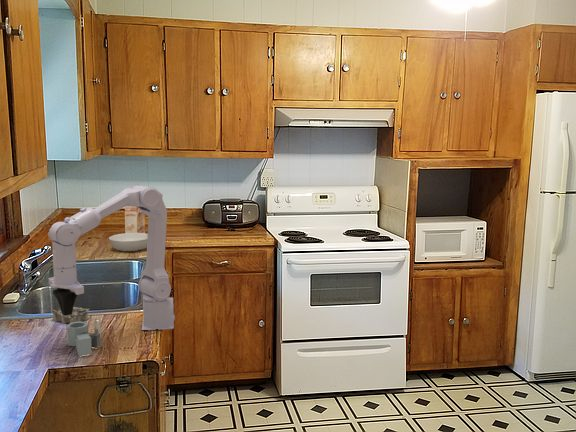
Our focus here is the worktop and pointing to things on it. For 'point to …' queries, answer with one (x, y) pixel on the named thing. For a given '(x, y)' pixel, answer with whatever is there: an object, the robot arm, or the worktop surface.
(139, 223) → the coffeecake box
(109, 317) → the worktop surface
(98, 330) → the pintle
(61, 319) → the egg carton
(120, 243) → the serving bowl
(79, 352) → the link
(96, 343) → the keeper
